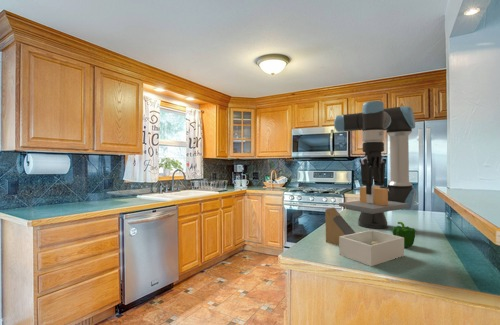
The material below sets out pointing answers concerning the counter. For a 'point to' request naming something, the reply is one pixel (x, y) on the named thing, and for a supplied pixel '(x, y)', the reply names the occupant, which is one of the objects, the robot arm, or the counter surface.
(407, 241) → the bell pepper
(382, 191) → the lid
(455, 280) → the counter surface
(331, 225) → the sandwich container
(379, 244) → the tub
